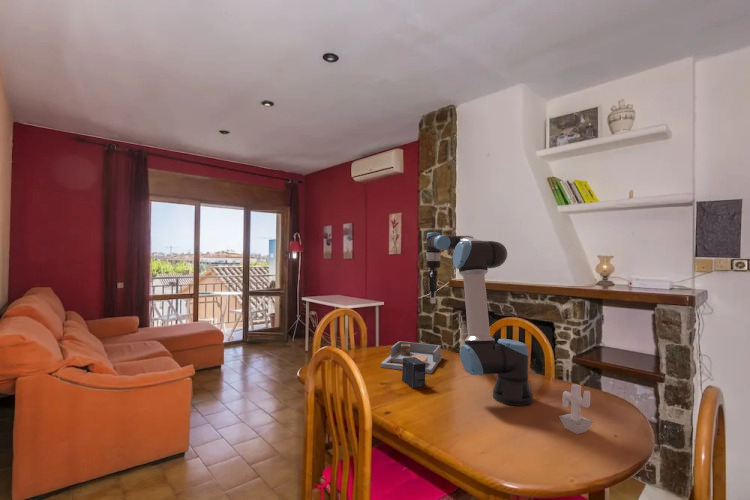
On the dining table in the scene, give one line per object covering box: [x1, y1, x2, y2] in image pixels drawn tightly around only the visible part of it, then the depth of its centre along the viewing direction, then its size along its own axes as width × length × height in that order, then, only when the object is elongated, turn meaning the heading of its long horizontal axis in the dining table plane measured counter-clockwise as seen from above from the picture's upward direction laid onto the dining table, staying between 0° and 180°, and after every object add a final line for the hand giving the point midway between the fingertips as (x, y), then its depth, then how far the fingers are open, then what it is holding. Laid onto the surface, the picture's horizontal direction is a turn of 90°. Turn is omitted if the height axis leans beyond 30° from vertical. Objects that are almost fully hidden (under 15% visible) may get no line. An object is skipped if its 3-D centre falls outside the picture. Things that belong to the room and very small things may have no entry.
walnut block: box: [401, 344, 410, 356], centre depth 205 cm, size 5×5×5 cm
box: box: [401, 357, 426, 389], centre depth 165 cm, size 11×7×10 cm, turn 22°
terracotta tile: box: [411, 355, 428, 366], centre depth 187 cm, size 8×8×3 cm
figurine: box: [558, 383, 594, 435], centre depth 123 cm, size 7×9×15 cm
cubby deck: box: [380, 340, 443, 374], centre depth 196 cm, size 26×28×7 cm
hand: (432, 303), depth 204 cm, fingers closed
